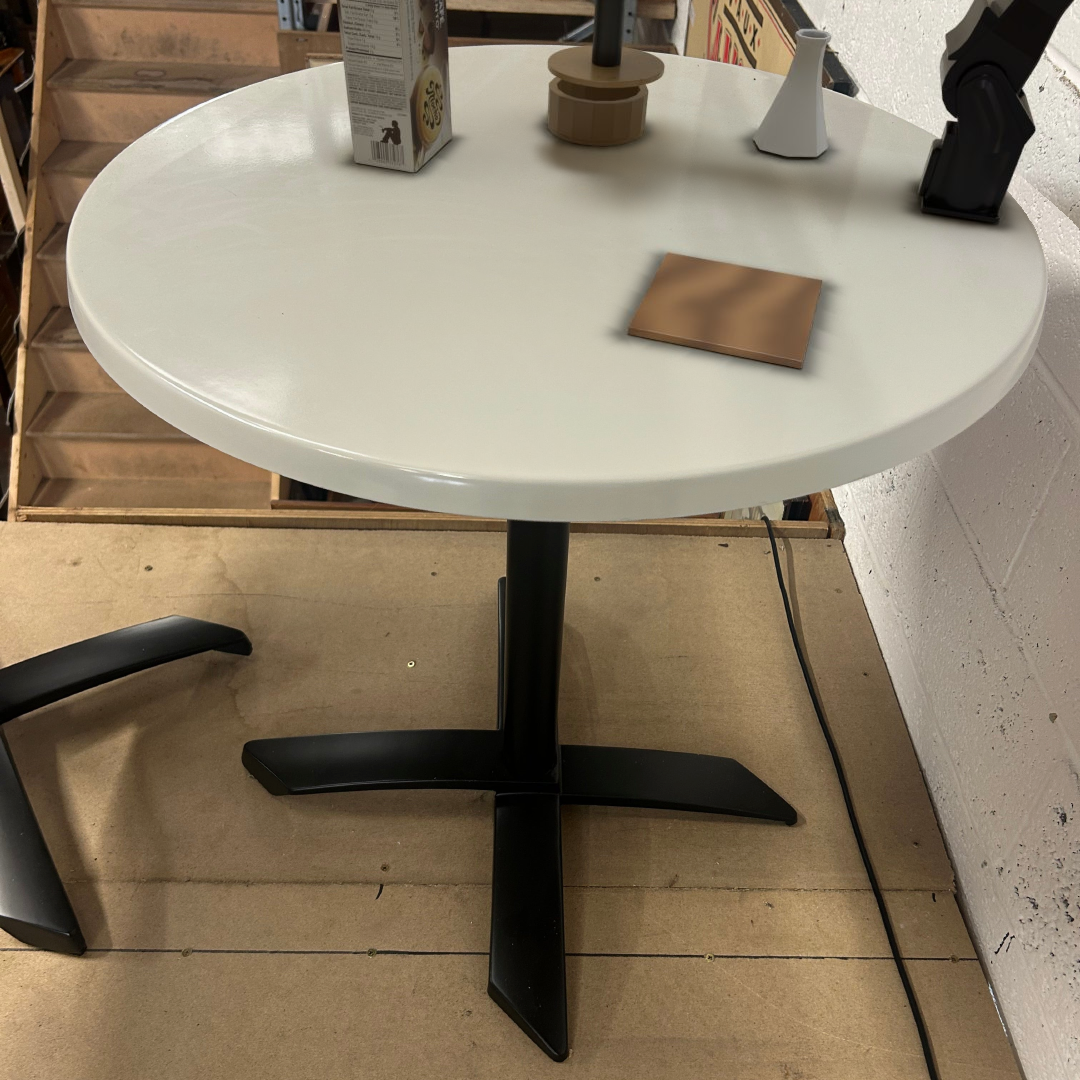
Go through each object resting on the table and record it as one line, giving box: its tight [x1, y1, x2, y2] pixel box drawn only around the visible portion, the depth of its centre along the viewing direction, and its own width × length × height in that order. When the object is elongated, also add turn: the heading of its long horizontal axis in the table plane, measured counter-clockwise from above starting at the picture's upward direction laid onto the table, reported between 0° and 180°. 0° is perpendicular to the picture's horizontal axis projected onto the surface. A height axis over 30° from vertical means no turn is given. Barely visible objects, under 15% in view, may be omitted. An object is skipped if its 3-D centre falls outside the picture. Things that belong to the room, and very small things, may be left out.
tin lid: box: [547, 0, 666, 88], centre depth 79 cm, size 10×10×9 cm
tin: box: [547, 76, 649, 147], centre depth 90 cm, size 10×10×4 cm
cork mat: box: [627, 252, 823, 369], centre depth 66 cm, size 12×12×1 cm
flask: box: [753, 28, 832, 158], centre depth 86 cm, size 7×7×10 cm
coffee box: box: [336, 0, 453, 173], centre depth 80 cm, size 9×6×16 cm
